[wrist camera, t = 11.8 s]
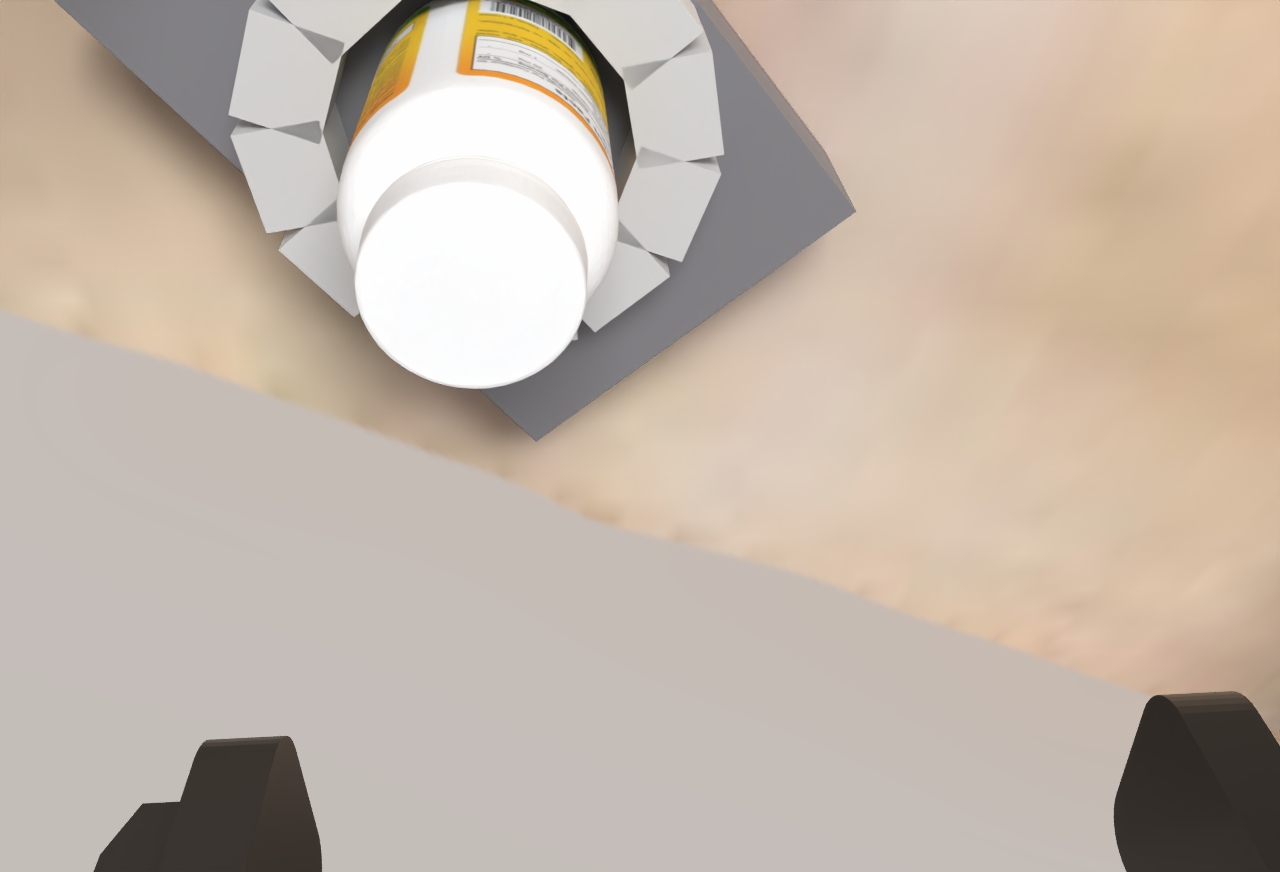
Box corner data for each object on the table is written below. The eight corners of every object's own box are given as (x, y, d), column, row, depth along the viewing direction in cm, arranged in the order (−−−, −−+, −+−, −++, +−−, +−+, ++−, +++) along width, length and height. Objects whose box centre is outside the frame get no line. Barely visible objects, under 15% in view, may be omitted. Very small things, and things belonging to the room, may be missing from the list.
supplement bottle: (423, 228, 30) (379, 454, 22) (340, 18, 27) (254, 193, 19) (629, 174, 29) (660, 384, 21) (569, -46, 26) (580, 105, 18)
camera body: (825, 152, 34) (873, 245, 29) (536, 367, 37) (535, 483, 32) (426, -379, 26) (399, -375, 21) (108, -44, 29) (21, 27, 24)
